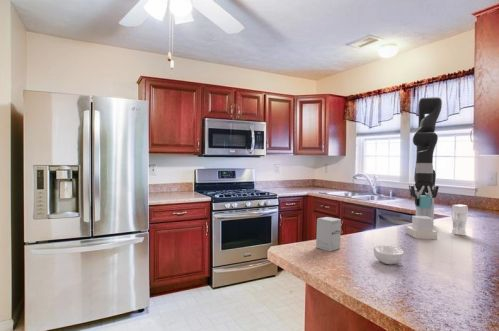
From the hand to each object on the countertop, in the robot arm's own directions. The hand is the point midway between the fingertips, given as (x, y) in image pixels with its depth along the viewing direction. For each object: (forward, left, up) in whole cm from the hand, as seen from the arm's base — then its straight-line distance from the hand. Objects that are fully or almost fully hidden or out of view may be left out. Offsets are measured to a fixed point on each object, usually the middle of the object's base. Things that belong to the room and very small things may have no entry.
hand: (423, 205), depth 148 cm
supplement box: (+25, -53, -16) cm, 61 cm away
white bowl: (+41, -35, -16) cm, 56 cm away
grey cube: (0, 0, -12) cm, 12 cm away
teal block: (0, 0, -1) cm, 1 cm away
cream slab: (0, 0, -16) cm, 16 cm away
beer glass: (-7, +23, -15) cm, 29 cm away
